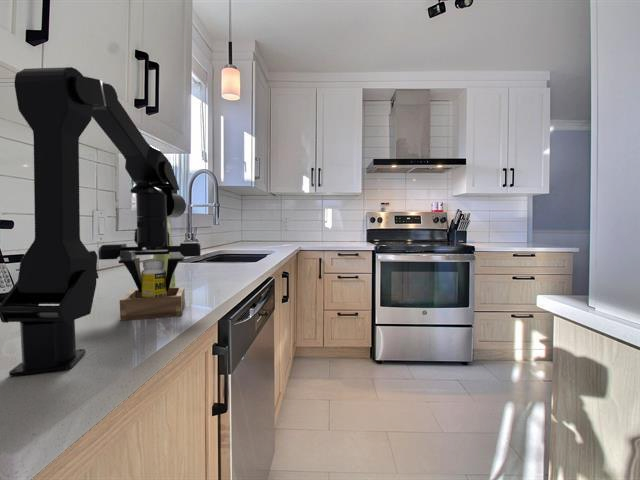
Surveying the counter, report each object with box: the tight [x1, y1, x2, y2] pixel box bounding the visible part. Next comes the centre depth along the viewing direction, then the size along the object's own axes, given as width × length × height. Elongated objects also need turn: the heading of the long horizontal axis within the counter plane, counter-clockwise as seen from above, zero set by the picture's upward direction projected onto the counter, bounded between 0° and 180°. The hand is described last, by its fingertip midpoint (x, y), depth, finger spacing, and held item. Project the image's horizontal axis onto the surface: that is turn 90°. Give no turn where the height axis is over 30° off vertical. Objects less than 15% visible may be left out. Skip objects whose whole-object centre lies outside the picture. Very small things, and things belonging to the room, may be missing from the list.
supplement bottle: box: [141, 259, 167, 298], centre depth 74 cm, size 5×5×8 cm
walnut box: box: [119, 286, 186, 322], centre depth 74 cm, size 11×11×4 cm
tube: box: [153, 219, 176, 288], centre depth 84 cm, size 6×5×20 cm
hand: (154, 291), depth 74 cm, fingers closed on supplement bottle, 5 cm apart
